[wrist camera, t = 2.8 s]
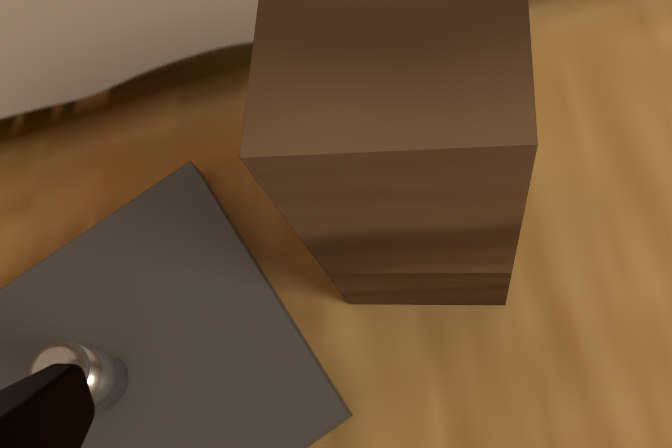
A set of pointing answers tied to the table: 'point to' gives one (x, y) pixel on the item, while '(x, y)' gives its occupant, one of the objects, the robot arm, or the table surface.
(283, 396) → the charcoal base plate
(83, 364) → the steel pin
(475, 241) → the walnut block
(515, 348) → the table surface
